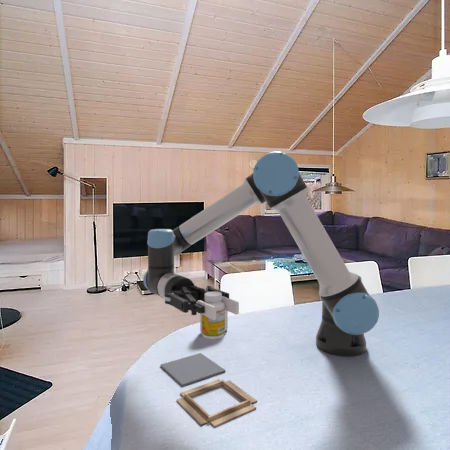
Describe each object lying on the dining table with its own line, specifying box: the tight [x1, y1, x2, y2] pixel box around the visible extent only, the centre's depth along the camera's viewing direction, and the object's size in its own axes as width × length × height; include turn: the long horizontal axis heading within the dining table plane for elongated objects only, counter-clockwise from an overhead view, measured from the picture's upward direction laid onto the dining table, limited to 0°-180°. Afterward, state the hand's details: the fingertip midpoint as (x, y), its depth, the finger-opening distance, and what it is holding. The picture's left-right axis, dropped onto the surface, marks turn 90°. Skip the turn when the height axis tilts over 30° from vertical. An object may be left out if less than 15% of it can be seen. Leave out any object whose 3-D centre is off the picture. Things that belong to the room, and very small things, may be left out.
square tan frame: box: [176, 379, 258, 428], centre depth 80 cm, size 15×15×1 cm
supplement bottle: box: [201, 292, 226, 340], centre depth 80 cm, size 5×5×10 cm
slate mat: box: [160, 352, 226, 387], centre depth 96 cm, size 13×13×1 cm
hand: (226, 310), depth 76 cm, fingers closed on supplement bottle, 5 cm apart
